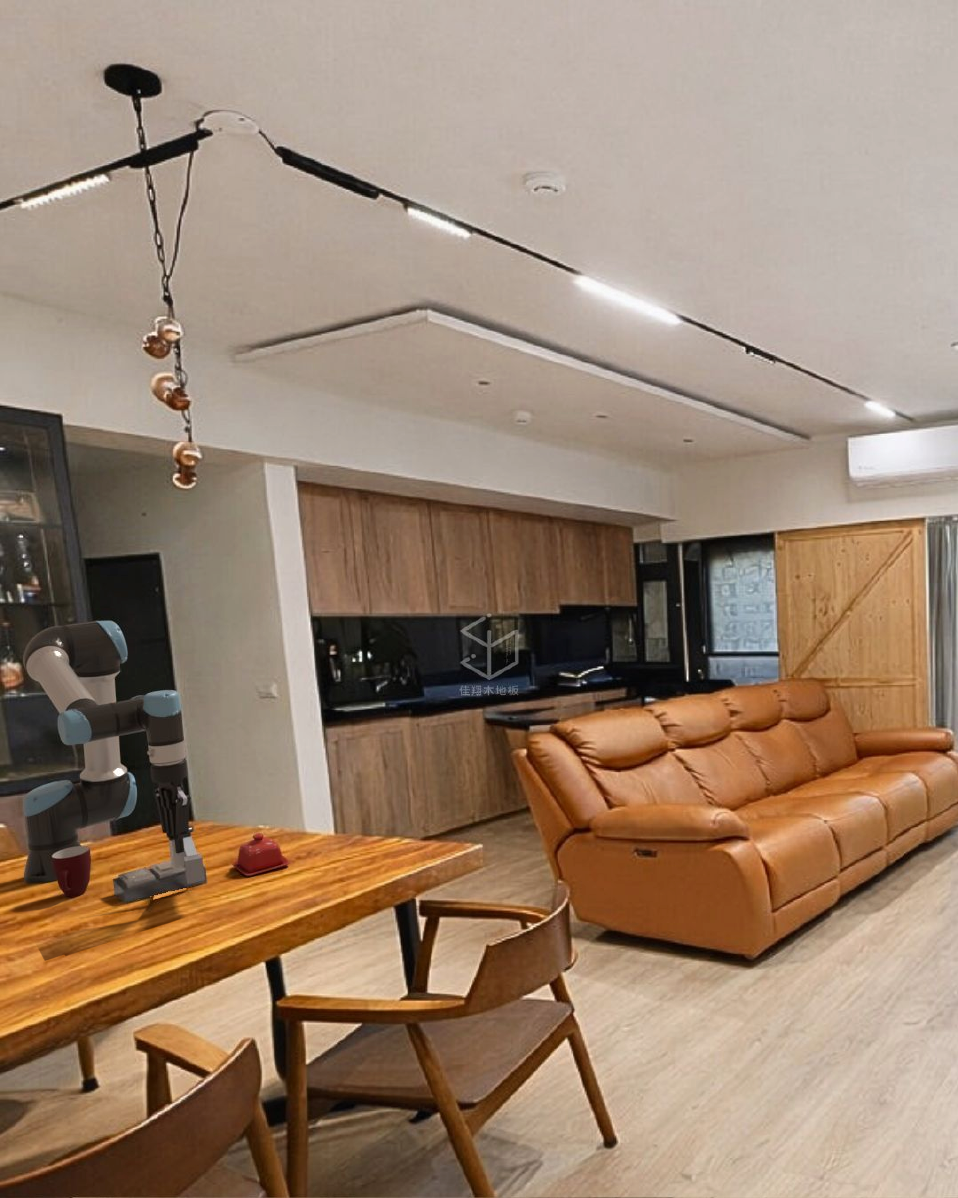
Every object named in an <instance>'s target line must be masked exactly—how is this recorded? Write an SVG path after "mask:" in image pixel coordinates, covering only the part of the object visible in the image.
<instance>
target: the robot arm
mask: <svg viewBox="0 0 958 1198" xmlns="http://www.w3.org/2000/svg"><path fill="white" fill-rule="evenodd" d="M127 660H128V646H127V643H126V639H125V636H124V633H123V631H122V630H121V628H120V626H119V625H118V624H117V623H116V622H114V621H113V620H94V621H93V620H92V621H86V622H79V623H72V624H65V625H55V626H51V627H48V628H45V629H43V630H41V631H39V632H38V633H36V634H35V635H34V636H33V637H32V638H31V639H30V641H29V642H28V643H27V645H26V647H25V649H24V652H23V657H22V661H23V663H22V664H23V667H24V669H25V671H26V673H27V674H28V676H29V677H30V678H31V679H32V680H34V681H36V682H38V683H39V684H40V685H41V688H42V689H43V690H44V692H45V693H46V695H47V696H48V698H49V700H50V701H51V702H52V705H54V707H55V708H56V710H57V712H58V714H59V715H58V717H57V730H58V735H59V736H60V740H61V741H62V743H63V744H64V745H66V746H74V745H83V751H84V753H83V754H84V766H85V768H84V769H83V770H82V771H81V772H80V773H79V783H75V784H73V783H72V781H71V780H69V779H68V780H67V779H65V780H64V779H63V780H59V781H53V782H50V783H46V784H43V785H40V786H38V787H36V788H33V789H32V790H31V791H29V792H27V793H26V795H25V796H24V797H23V801H22V802H23V803H22V804H23V812H22V813H23V817H24V823H25V832H26V840H27V841H26V842H27V847H28V848H27V849H28V854H27V859H26V862H25V867H24V872H23V878H24V879H23V880H24V883H26V884H33V885H35V884H36V885H37V884H38V885H39V884H47V883H54V882H57V879H56V876H55V873H54V869H53V864H52V855H53V854H54V853H56V852H58V851H60V850H63V849H66V848H70V847H76V846H82V845H81V842H80V841H79V834H78V832H79V831H78V830H80V829H84V828H89V827H92V826H96V825H100V824H105V823H108V822H112V821H118V819H121V818H125V817H128V816H129V815H131V814H132V813H133V811H134V809H135V808H136V807H135V806H136V804H137V797H138V791H137V785H136V779H135V776H134V775H133V774H132V773H131V772H129V771H128V768H127V766H125V765H123V764H122V763H121V752H120V736H125V735H130V734H136V733H141V732H146V737H147V739H146V740H147V745H148V750H147V751H146V753H147V755H148V756H149V762H150V763H151V765H150V767H149V768H150V779H151V781H152V782H153V783H155V784H157V787H158V788H156V789H153V791H152V793H153V797H154V798H155V799H154V800H155V801H156V805H157V806H156V807H157V810H158V816H159V820H160V826H161V830H162V833H163V834H166V838H168V845H169V846H168V847H169V856H170V860H171V867H172V868H174V869H175V868H178V867H181V866H184V857H185V850H184V840H183V837H184V836H186V835H188V832H189V825H190V802H191V799H192V798H191V795H190V794H185V791H184V785H183V780H184V779H185V778H187V776H188V764H187V760H186V759H185V758H186V757H187V754H186V743H185V742H186V741H185V738H184V736H185V735H184V727H183V726H184V725H183V715H182V706H183V705H182V703H181V699H180V698H181V697H180V694H179V692H178V691H176V690H173V689H165V690H164V689H163V690H156V691H152V692H148V693H146V694H143V695H136V696H134V697H131V698H130V699H127V700H121V701H117V697H116V680H115V678H116V677H117V675H119V673H120V672H121V664H124V663H125V662H127Z"/></svg>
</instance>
